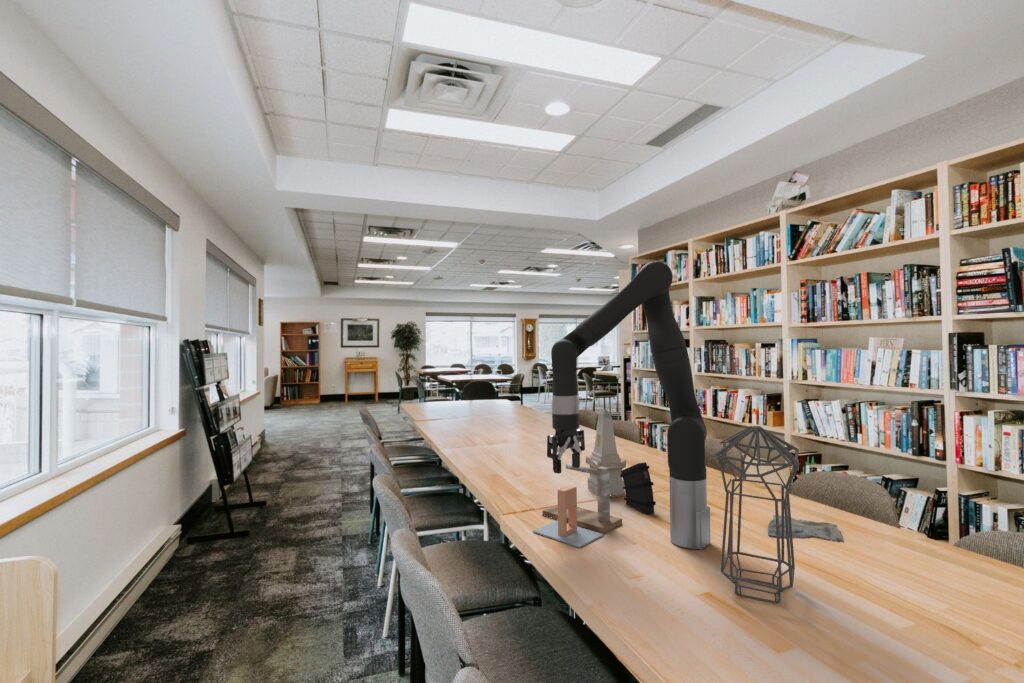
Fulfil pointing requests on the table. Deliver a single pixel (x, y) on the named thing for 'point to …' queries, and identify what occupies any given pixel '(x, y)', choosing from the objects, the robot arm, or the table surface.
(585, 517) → the stand
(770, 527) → the fossil rock
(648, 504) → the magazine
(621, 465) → the miniature monument
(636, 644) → the table surface
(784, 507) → the geometric lantern
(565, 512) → the salmon hollow block
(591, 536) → the mat
